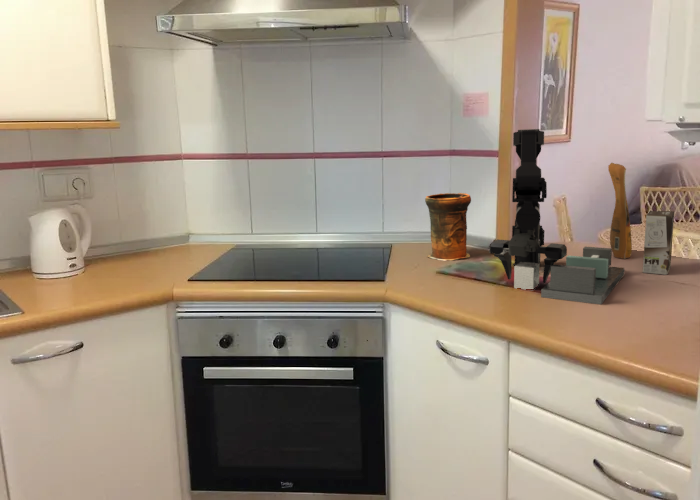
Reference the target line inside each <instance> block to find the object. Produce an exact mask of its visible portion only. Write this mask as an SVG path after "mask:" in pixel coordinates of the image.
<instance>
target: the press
mask: <svg viewBox="0 0 700 500" xmlns="http://www.w3.org/2000/svg"><path fill="white" fill-rule="evenodd" d="M624 275H625V267H622V266H621V267H620V266H612V265H610V266H608V277H607V278H596V268H589V267H578V266H568V265H566V264H556V263H554V264H553V265H551V271H550V275H549V278H550V280H549V282H548V283H547V284H546V285H544V287H542V288H541V290H540V292H541V293H540V294H541V295H540V298H547V299H553V300H554V299H555V300H563V301H570V302H579V303H586V304H587V303H588V304H595V305H602V304H603V303H604V301H605V300H606V299H607V297H608V296H610V294H611V293H612V291H613V290H614V289H615V287H616V286H617V285H618V284H619V282H620V281H621V279H622V278H623V277H624Z"/></svg>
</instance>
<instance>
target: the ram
mask: <svg viewBox="0 0 700 500" xmlns="http://www.w3.org/2000/svg"><path fill="white" fill-rule="evenodd" d="M612 255H613V252H612V248H611V247H597V246H595V247H594V246H584V247H583V249H582V256H581V255H580V256H578V255H577V256H576V255H566V256H565V265H568V266H578V267H589V268H596V278H607V277H608V266H612Z"/></svg>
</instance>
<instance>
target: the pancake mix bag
mask: <svg viewBox="0 0 700 500" xmlns="http://www.w3.org/2000/svg"><path fill="white" fill-rule="evenodd" d="M607 167H608V173H609V175H610V176H609V177H610V179H611V181H612V182H611V183H612V185H613V189H614V195H615V196H614V197H615V203H614V204H615V205H614V208H613V213H612V220H611V223H610V224H611V225H610V232H609V243H610V248H612V255H613V257H614V258H616V259H622V260H626V259H629V258H631V256H632V250H633V247H632V246H633V244H632V230H631V228H632V227H631V220H630V211H629V205H628V200H627V199H628V198H627V192H626V191H627V190H626V170H627V168H626V166H624V165H622V164H620V163H614V162H611V163H610V164H609V165H608V166H607Z"/></svg>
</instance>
